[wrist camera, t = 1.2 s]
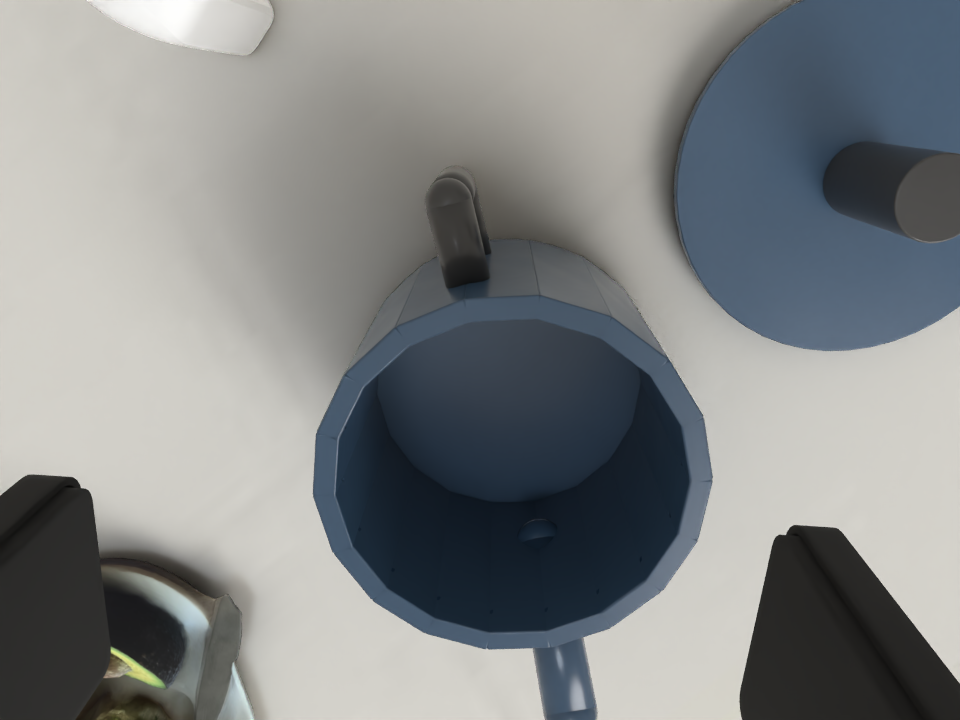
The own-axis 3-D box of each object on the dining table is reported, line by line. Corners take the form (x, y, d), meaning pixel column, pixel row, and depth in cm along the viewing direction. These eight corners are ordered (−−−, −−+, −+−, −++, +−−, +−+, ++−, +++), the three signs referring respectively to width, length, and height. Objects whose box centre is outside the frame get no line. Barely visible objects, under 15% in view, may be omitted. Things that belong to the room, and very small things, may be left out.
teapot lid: (1030, -62, 29) (1193, -109, 22) (1029, 304, 34) (1163, 357, 27) (644, 35, 30) (686, 18, 24) (695, 372, 35) (743, 440, 28)
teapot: (627, 205, 33) (679, 251, 23) (674, 483, 37) (734, 616, 28) (326, 274, 34) (259, 344, 25) (406, 534, 38) (375, 678, 29)
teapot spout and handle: (478, 158, 30) (472, 178, 23) (585, 624, 38) (605, 749, 30) (425, 171, 30) (402, 195, 23) (541, 632, 38) (551, 758, 31)
